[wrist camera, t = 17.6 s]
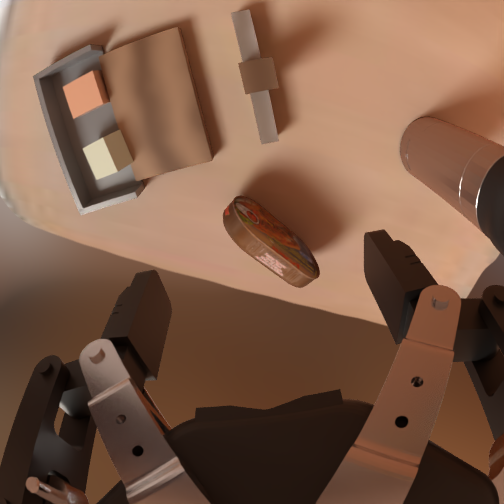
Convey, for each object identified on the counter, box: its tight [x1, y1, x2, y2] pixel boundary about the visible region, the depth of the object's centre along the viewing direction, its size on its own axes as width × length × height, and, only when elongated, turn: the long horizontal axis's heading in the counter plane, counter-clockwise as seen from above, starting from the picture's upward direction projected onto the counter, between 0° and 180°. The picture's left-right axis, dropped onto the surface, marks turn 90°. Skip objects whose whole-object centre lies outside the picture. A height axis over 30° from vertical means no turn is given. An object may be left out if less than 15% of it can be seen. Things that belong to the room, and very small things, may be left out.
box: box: [33, 44, 145, 215], centre depth 33 cm, size 9×20×4 cm, turn 12°
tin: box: [223, 196, 320, 288], centre depth 40 cm, size 15×3×8 cm, turn 48°
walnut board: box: [99, 27, 214, 181], centre depth 33 cm, size 10×17×2 cm, turn 12°
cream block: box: [83, 130, 133, 180], centre depth 34 cm, size 4×4×3 cm
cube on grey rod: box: [231, 10, 279, 144], centre depth 28 cm, size 3×16×10 cm, turn 12°
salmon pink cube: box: [63, 70, 111, 119], centre depth 30 cm, size 4×4×3 cm
